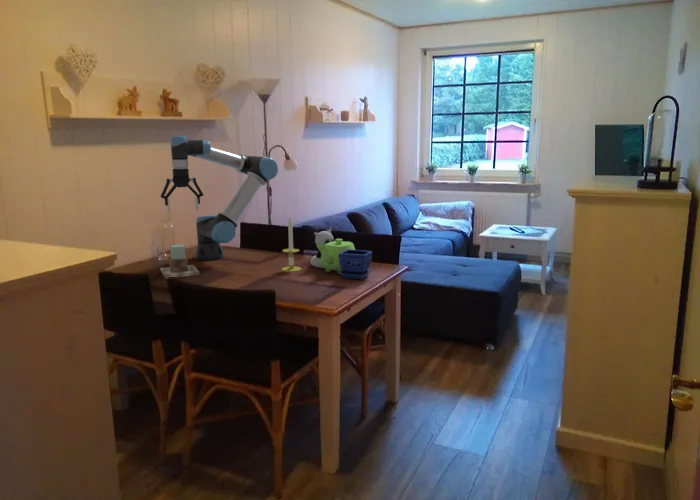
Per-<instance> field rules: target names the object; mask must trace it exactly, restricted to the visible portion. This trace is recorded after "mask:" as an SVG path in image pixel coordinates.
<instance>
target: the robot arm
mask: <svg viewBox="0 0 700 500" xmlns="http://www.w3.org/2000/svg"><path fill="white" fill-rule="evenodd" d="M170 149H171V150H170V152H171V153H170V154H171V166H172V168H173V169H172V178H166V179H165V180H166V182H165V185H164V187H163V189H162V192H161V194H160V198H161V199H164V205H165V206H166V207H167V213H171V205H170V198H169V197H170V196H171V195H172V194H173V192H174V191H175V190H176V188H186V187H187V188H188V189H189V190H190V191H191V192H192V193H193V194H194V195H195V199H194V200H195V211H199V205H200V204H201V197H204V193H203V192H202V189H201V188H200V186H199V184H198V182H197V178H195V177H191V178H190V172H189V171H190V170H189V169H188V168H189V156H190V157H195V158H198V159H201V160H204V161H208V162H211V163H215V164H218V165H222V166H225V167H228V168H232V169H234V170H235V171H236V172H238V173H241V174H244V175H247V178H245V180H244V182H243V183H242V184H241V186H240V188H239V189H238V190H237V192H236V193H235V194H234V196H233V197H232V198H231V201H229V203H228V204H227V206H226V207H225V209H224V211H223V212H218V214H214V215H213V214H212V215H202V216H197V217H196V219H195V220H196V221H195V222H196V223H195V224H196V240H197V246H196V249H195V253H194V256H195V259H196V260H199V261H215V260H220V259H223V258H224V250H223V249H222V246H221V244H227V243H229V242H231V241H233V239H234V238H235V236H236V231H237V227H238V221H239V219H240V218H241V216H242V215H243V213H244V212H245V210H246V208H247V207H248V206H249V204H251V201H252V200H253V199H254V197H255V196H256V194H257V192H258V191H259V190H260V188H261V187H263V186H266V185H267V184H268V182H269V180H273V179H275V178H276V176H277V174H278V173H279V168H278V163H277V161H276V160H275V159H274V158H272V157H270V156H256V155H244V154H241V153H240V154H235V153H231V152H229V151H226V150H222V149H220V148H216V147H212V145H211V143H210V141H209V139H187V136H186V135H177V136H176V135H175V136H173V135H172V136H171V138H170ZM190 182H191V183H193V185H194V187H195V188H196V190H197V191H196V190H195V189H194V188H193V187H192V186H191V184H190ZM171 183H173V185H172V186H171V188H170V189H169V191H168V188H169V186H170V184H171ZM167 191H168V192H167Z"/></svg>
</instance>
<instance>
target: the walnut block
mask: <svg viewBox="0 0 700 500" xmlns="http://www.w3.org/2000/svg"><path fill="white" fill-rule="evenodd" d="M168 261H169V267H170V271H171V273H172V272H183V271H188V265H189V264H188V263H189V262H188V261H189V260H188V256H187V255H185V259H176V260H172V258H171V256H168Z"/></svg>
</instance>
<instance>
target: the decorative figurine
mask: <svg viewBox="0 0 700 500" xmlns="http://www.w3.org/2000/svg"><path fill="white" fill-rule="evenodd" d="M313 233H314V236H315V239H314V243H315V244H316V246H317V245H318V244H321V245H323V246H325V244H327V243H329V242H333V241H335V239H334V236H333V234H332V226H330V227H329V229H327V230H322V231H320V232H315V231H314V232H313ZM321 255H322V253H321V252H320V250H319V249H318V251H317V253H316V255H314V256H312V257H311V259H310V264H311V265H312V266H313V267H315V268H318V269H324V268H323V267H322V265H321Z"/></svg>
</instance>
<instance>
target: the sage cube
mask: <svg viewBox="0 0 700 500" xmlns="http://www.w3.org/2000/svg"><path fill="white" fill-rule="evenodd" d="M169 249H170V257H171V258H172V260H176V259H185V256H186V247H185V245H184V244H182V243H180V244H179V243H178V244H170V246H169Z"/></svg>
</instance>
